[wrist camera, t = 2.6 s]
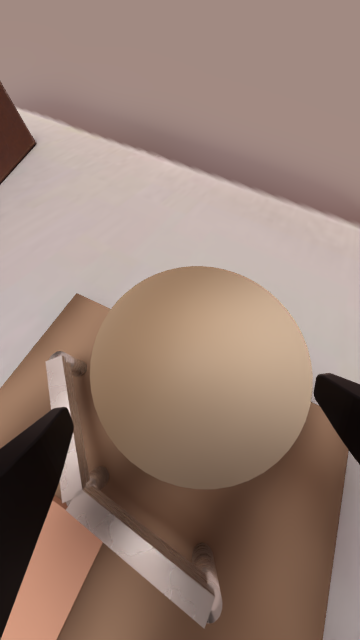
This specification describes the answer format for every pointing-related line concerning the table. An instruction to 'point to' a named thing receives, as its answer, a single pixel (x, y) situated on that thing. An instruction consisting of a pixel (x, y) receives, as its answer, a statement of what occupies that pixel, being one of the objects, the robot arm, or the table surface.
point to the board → (196, 518)
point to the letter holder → (12, 136)
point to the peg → (201, 377)
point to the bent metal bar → (128, 515)
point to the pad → (52, 577)
